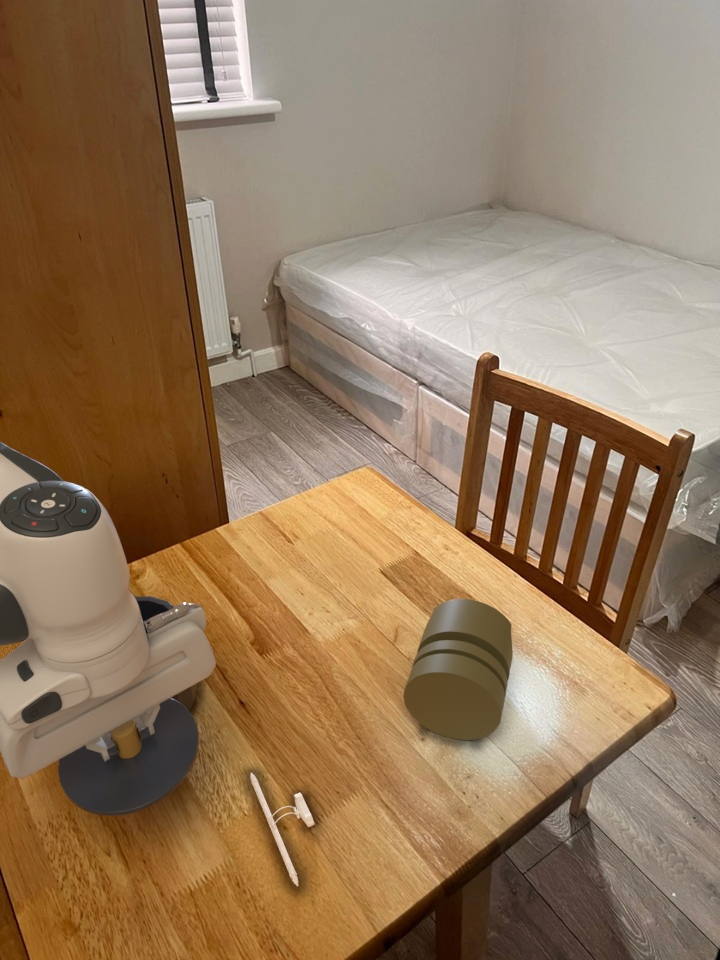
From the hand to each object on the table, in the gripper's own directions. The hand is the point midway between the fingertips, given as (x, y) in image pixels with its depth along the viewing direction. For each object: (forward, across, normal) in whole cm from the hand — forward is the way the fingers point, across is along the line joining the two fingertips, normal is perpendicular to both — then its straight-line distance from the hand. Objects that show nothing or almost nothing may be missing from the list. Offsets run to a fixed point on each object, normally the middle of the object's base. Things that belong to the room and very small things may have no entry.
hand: (127, 742), depth 72 cm
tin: (+12, -6, -15) cm, 20 cm away
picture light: (+13, -11, +10) cm, 20 cm away
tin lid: (+2, 0, 0) cm, 2 cm away
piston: (+13, -37, +10) cm, 40 cm away
